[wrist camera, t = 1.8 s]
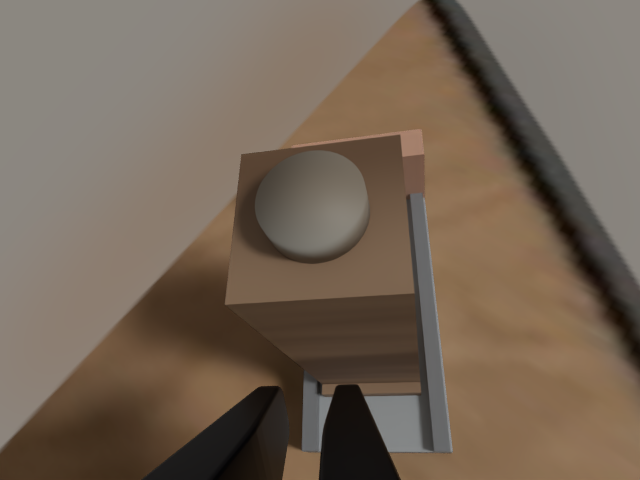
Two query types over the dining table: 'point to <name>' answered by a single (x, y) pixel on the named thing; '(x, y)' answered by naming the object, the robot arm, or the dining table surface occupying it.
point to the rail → (431, 406)
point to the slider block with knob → (329, 262)
